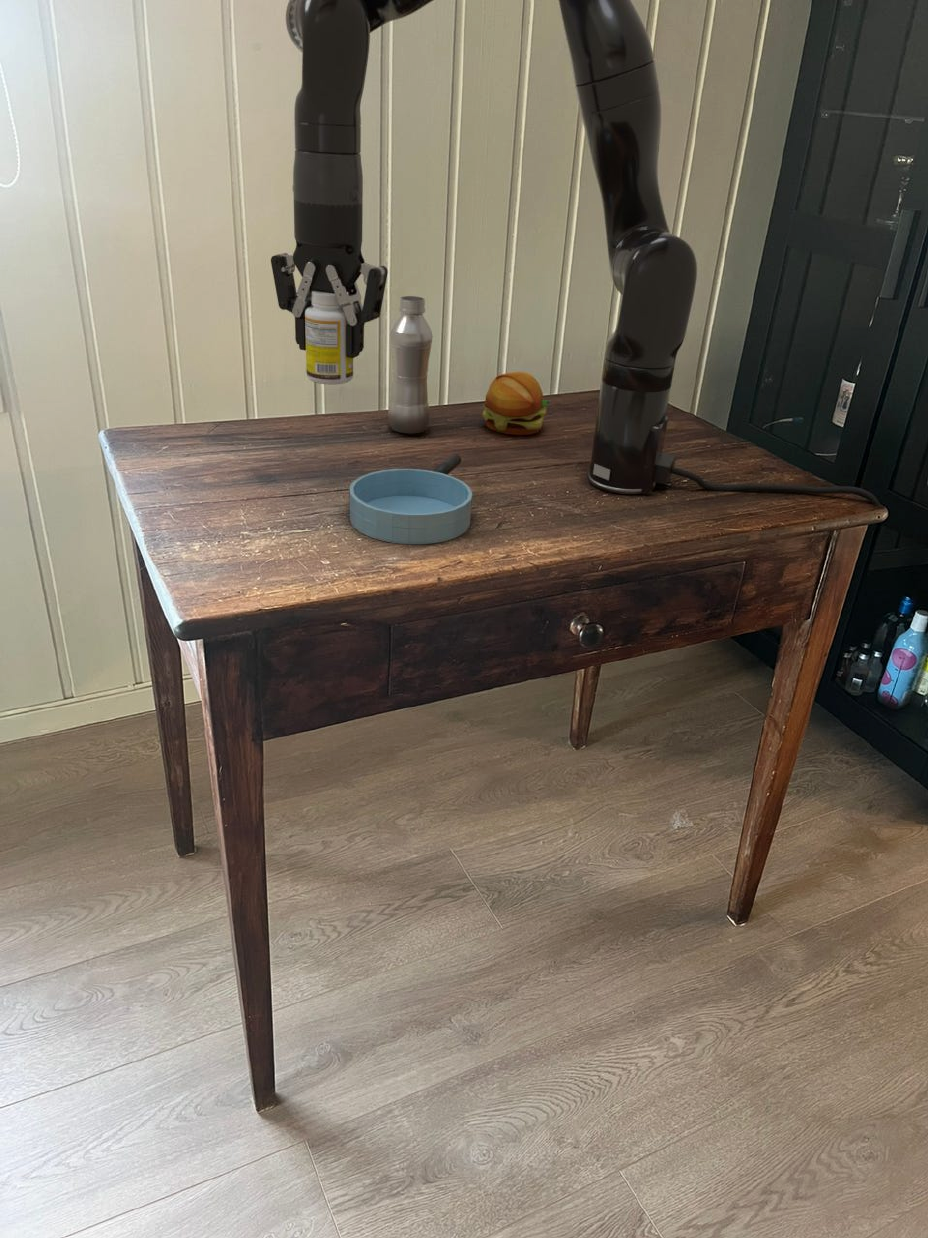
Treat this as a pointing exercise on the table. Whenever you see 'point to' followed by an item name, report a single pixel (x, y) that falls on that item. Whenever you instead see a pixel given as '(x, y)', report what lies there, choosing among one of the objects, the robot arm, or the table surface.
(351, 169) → the robot arm
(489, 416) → the cheeseburger
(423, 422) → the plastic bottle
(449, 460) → the pan handle
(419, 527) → the pan
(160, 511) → the table surface
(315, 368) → the supplement bottle
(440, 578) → the table surface
